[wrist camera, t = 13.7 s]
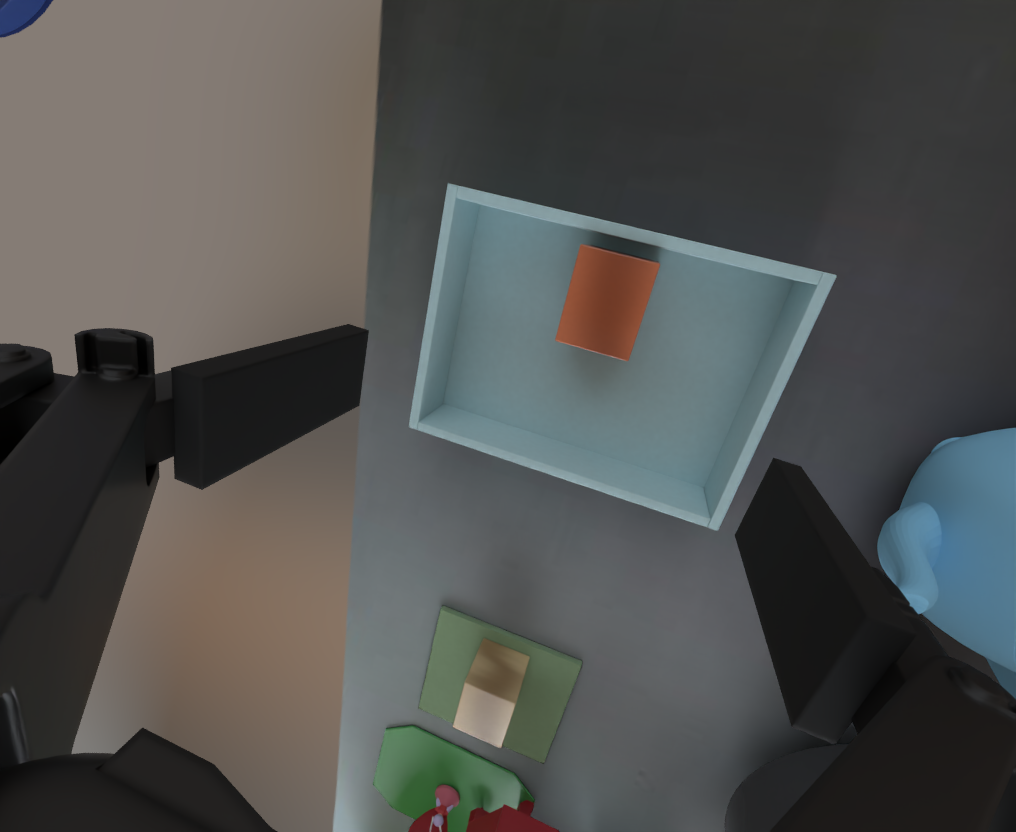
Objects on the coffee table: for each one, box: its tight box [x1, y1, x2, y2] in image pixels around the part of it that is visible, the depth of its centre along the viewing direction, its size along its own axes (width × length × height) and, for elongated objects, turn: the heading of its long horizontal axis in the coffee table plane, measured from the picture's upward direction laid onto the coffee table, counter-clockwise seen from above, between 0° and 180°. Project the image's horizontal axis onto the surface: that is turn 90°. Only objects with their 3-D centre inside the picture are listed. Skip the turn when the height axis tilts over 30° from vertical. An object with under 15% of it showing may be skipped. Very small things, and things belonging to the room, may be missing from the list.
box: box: [409, 184, 836, 531], centre depth 28 cm, size 19×14×4 cm
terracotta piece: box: [555, 244, 660, 361], centre depth 27 cm, size 4×5×4 cm
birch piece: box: [453, 638, 530, 748], centre depth 38 cm, size 4×5×4 cm
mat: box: [419, 606, 582, 764], centre depth 41 cm, size 12×12×1 cm
